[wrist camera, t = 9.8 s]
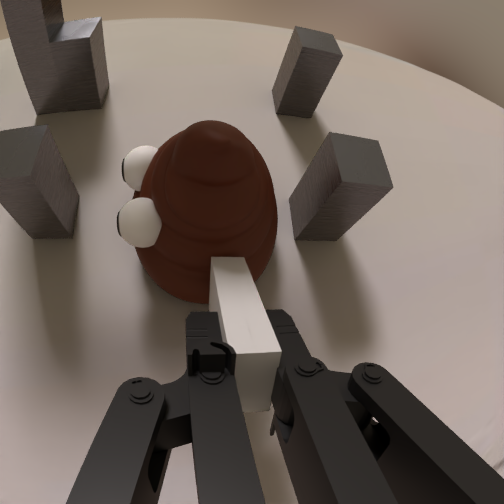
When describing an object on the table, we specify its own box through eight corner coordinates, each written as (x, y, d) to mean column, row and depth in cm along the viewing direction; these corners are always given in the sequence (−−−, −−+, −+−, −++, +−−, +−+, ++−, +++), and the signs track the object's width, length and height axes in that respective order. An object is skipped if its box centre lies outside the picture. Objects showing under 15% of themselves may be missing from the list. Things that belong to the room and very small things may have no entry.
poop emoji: (278, 302, 19) (355, 242, 10) (129, 310, 17) (81, 251, 8) (257, 161, 22) (298, 55, 14) (134, 161, 20) (121, 48, 12)
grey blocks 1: (310, 118, 25) (343, 55, 19) (67, 111, 21) (49, 43, 14) (304, 94, 26) (332, 34, 20) (77, 87, 22) (64, 22, 15)
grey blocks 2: (336, 240, 21) (393, 187, 15) (32, 238, 17) (-19, 180, 11) (328, 201, 22) (378, 140, 16) (40, 197, 18) (0, 130, 12)
